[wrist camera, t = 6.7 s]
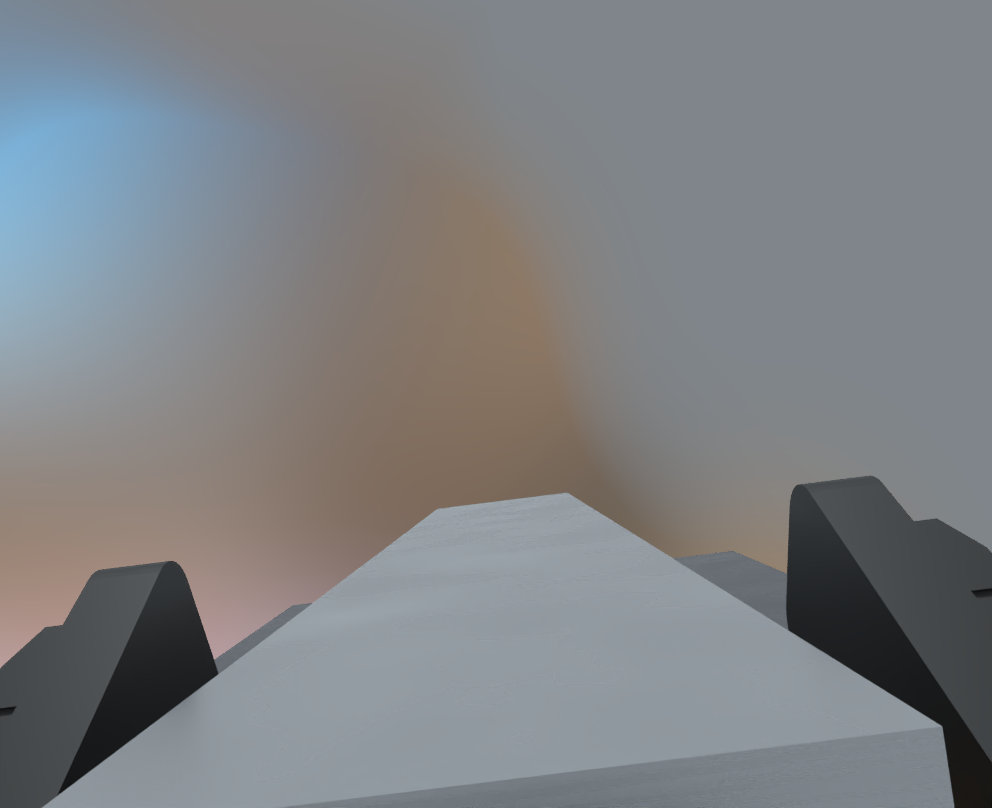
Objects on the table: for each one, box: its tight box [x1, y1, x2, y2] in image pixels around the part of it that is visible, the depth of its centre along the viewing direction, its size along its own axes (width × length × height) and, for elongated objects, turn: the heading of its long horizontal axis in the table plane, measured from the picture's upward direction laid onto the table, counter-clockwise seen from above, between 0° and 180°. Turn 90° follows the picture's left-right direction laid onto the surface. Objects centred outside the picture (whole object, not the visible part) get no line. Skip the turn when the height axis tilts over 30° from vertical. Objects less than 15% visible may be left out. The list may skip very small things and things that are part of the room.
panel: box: [42, 493, 954, 808], centre depth 16 cm, size 24×4×2 cm, turn 179°
